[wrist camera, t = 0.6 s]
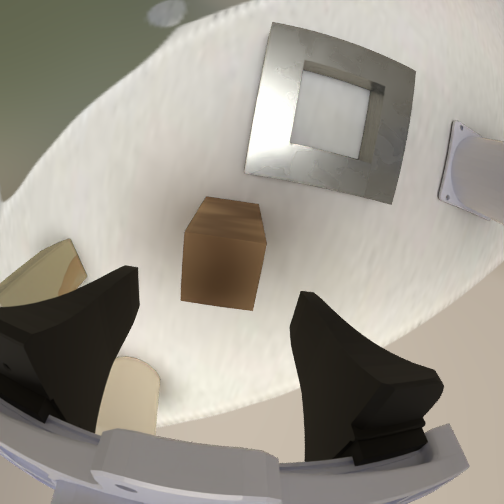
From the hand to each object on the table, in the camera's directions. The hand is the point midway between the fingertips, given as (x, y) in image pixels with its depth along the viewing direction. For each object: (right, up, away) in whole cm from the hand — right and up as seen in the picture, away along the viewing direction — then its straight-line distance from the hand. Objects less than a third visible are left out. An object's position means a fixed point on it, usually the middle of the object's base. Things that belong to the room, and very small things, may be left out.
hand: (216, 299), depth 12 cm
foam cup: (-12, -13, +17) cm, 24 cm away
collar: (+7, +12, +6) cm, 16 cm away
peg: (0, +4, +10) cm, 10 cm away
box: (-17, +1, +11) cm, 20 cm away
